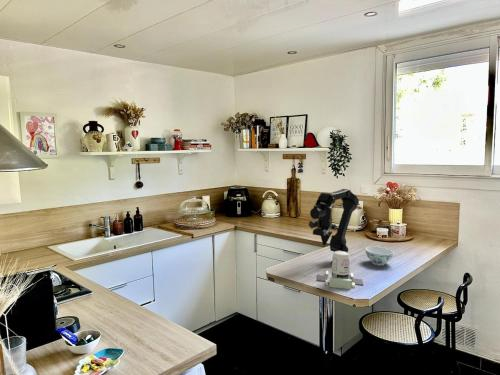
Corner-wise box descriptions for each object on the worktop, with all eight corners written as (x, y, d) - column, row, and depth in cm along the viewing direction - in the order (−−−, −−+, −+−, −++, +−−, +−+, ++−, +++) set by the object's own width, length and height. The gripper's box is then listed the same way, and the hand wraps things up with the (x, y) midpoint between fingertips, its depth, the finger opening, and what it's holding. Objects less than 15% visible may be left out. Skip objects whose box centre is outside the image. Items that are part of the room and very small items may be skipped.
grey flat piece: (317, 272, 195) (318, 264, 194) (361, 276, 190) (361, 268, 190) (316, 285, 177) (316, 277, 176) (364, 290, 172) (365, 282, 172)
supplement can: (335, 278, 187) (337, 249, 185) (351, 282, 182) (353, 252, 180) (328, 283, 180) (330, 253, 178) (344, 287, 175) (346, 256, 173)
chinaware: (359, 262, 211) (360, 249, 210) (373, 257, 221) (374, 245, 220) (383, 270, 200) (384, 256, 199) (397, 264, 209) (398, 251, 208)
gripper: (318, 211, 209) (317, 238, 211) (304, 217, 193) (302, 246, 195) (337, 214, 202) (336, 242, 204) (324, 220, 187) (322, 250, 189)
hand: (324, 245), depth 198 cm, fingers closed
